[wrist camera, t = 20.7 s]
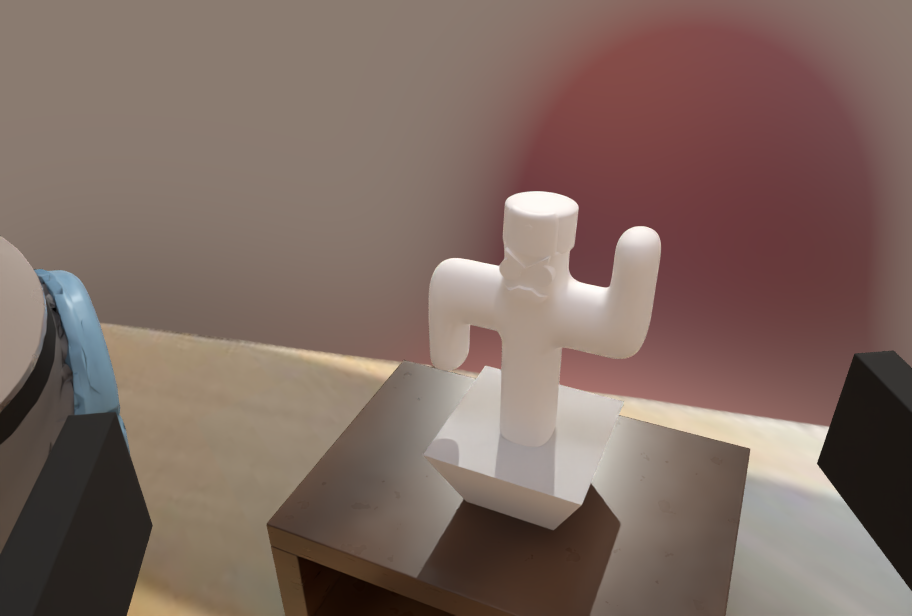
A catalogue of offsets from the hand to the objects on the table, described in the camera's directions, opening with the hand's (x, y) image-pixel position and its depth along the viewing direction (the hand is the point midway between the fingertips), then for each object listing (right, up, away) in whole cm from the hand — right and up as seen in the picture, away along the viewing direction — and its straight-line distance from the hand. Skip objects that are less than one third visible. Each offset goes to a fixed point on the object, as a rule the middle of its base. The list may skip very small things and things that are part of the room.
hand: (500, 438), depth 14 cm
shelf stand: (+2, -15, +28) cm, 32 cm away
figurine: (+3, -6, +23) cm, 24 cm away
